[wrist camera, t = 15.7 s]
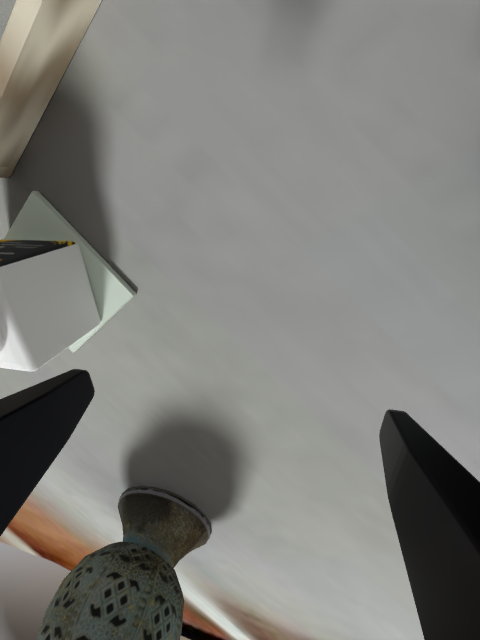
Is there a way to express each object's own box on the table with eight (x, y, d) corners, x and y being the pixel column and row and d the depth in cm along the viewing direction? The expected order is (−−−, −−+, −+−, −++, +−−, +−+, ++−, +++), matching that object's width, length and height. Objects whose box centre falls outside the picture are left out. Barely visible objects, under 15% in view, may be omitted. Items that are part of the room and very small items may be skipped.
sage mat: (37, 190, 20) (32, 191, 20) (136, 293, 23) (133, 295, 22) (-10, 270, 25) (-16, 272, 24) (77, 349, 27) (73, 352, 27)
